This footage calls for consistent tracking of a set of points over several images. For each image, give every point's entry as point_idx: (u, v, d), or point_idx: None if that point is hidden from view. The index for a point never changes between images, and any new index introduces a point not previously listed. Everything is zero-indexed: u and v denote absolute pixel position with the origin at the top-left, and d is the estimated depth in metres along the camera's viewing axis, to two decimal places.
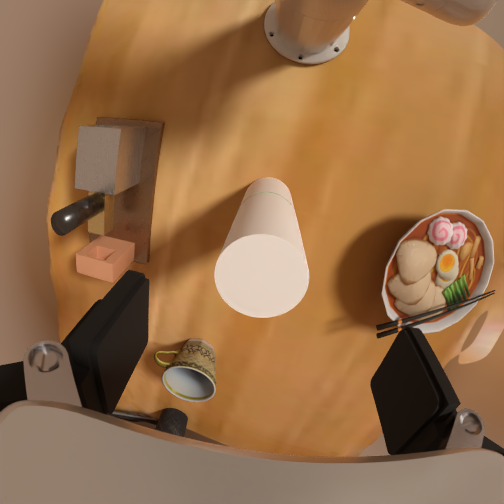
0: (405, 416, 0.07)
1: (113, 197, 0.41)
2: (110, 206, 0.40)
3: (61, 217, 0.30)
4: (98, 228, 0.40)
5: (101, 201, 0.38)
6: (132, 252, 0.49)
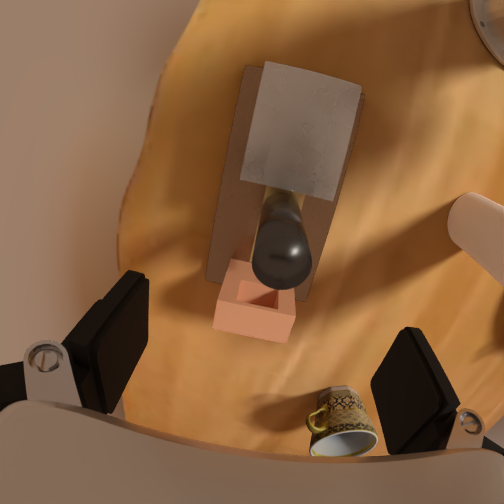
0: (405, 416, 0.07)
1: None
2: None
3: (294, 249, 0.15)
4: None
5: None
6: None
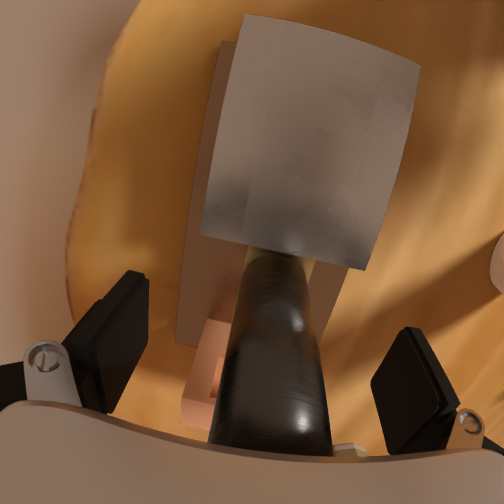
0: (405, 416, 0.07)
1: None
2: None
3: None
4: None
5: (307, 284, 0.13)
6: None
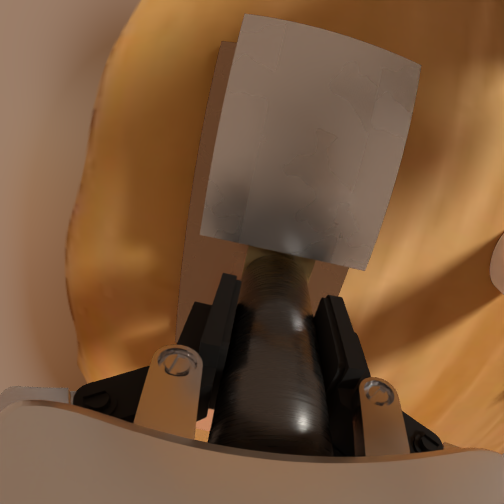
0: None
1: None
2: None
3: None
4: None
5: (307, 284, 0.13)
6: None
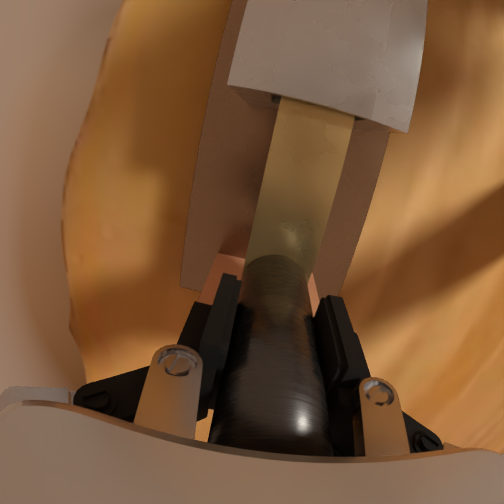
0: None
1: None
2: None
3: None
4: None
5: (307, 284, 0.13)
6: None
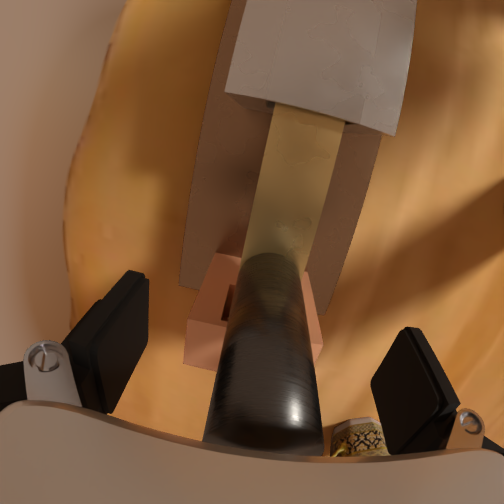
0: (405, 416, 0.07)
1: None
2: None
3: (289, 437, 0.06)
4: None
5: (300, 281, 0.14)
6: None
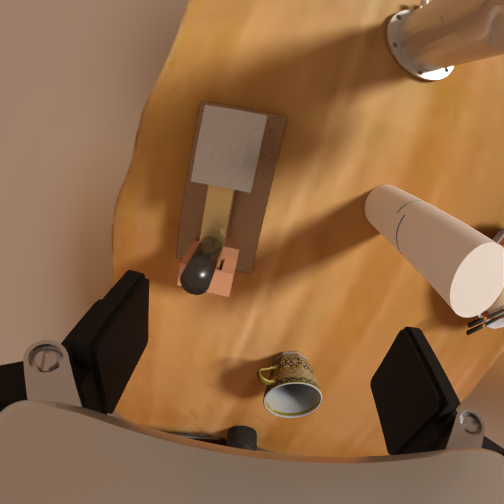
0: (405, 416, 0.07)
1: (225, 239, 0.40)
2: (223, 250, 0.39)
3: (200, 274, 0.29)
4: None
5: (220, 246, 0.37)
6: None
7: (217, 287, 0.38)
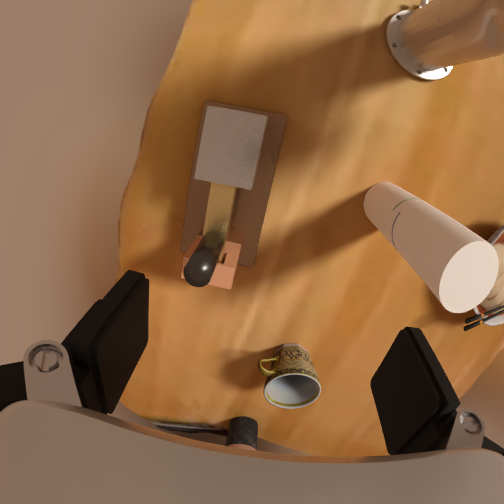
0: (405, 416, 0.07)
1: (227, 234, 0.41)
2: (225, 244, 0.41)
3: (202, 267, 0.31)
4: None
5: (222, 241, 0.38)
6: None
7: (219, 280, 0.40)
